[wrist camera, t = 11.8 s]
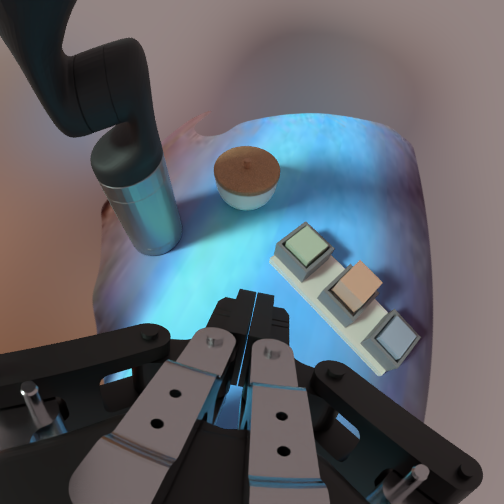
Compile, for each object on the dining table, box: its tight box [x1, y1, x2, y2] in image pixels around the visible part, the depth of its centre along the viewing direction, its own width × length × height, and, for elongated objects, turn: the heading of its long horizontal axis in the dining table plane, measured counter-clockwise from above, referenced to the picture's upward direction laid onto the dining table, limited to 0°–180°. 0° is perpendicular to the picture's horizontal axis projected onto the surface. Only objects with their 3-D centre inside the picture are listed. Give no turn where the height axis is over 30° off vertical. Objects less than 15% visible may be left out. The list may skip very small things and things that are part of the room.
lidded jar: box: [214, 146, 280, 210], centre depth 49 cm, size 11×11×9 cm
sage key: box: [285, 226, 328, 269], centre depth 44 cm, size 4×4×4 cm
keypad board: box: [269, 221, 421, 376], centre depth 42 cm, size 25×8×5 cm, turn 41°
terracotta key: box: [332, 260, 383, 312], centre depth 38 cm, size 4×4×4 cm
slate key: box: [374, 316, 416, 360], centre depth 38 cm, size 4×4×4 cm
